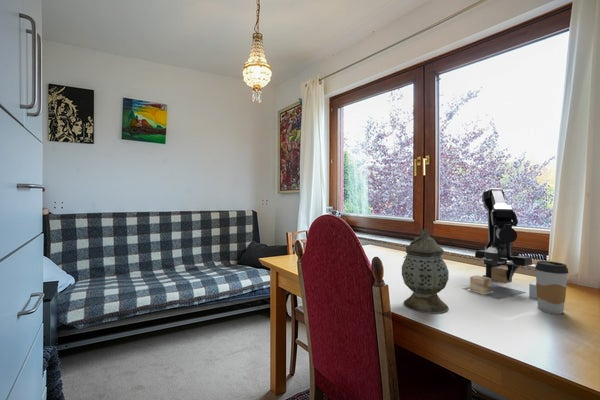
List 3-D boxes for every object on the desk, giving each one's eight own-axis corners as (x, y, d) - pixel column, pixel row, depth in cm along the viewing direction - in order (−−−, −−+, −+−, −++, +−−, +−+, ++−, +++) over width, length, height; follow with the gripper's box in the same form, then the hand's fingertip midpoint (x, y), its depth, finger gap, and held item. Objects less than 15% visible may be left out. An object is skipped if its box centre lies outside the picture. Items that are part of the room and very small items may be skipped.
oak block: (477, 288, 121) (478, 275, 121) (491, 291, 117) (491, 278, 116) (470, 289, 119) (470, 276, 119) (483, 293, 114) (483, 279, 114)
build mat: (488, 283, 129) (488, 282, 129) (526, 293, 116) (526, 292, 116) (461, 289, 120) (461, 288, 120) (498, 300, 108) (499, 299, 108)
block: (532, 295, 114) (532, 281, 114) (549, 298, 111) (549, 284, 111) (529, 298, 111) (529, 284, 111) (546, 301, 107) (547, 287, 107)
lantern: (427, 317, 92) (428, 232, 92) (392, 302, 105) (393, 228, 104) (458, 309, 98) (459, 231, 98) (421, 296, 111) (422, 226, 111)
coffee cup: (560, 307, 101) (561, 261, 101) (573, 317, 93) (574, 267, 93) (530, 304, 104) (530, 259, 104) (540, 313, 96) (541, 264, 96)
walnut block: (498, 278, 126) (498, 266, 126) (511, 281, 121) (512, 269, 121) (491, 280, 123) (491, 267, 123) (504, 283, 119) (504, 270, 119)
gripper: (466, 237, 126) (466, 276, 127) (516, 244, 110) (516, 288, 110) (483, 236, 132) (482, 273, 132) (533, 242, 115) (532, 284, 115)
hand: (501, 279), depth 122 cm, fingers closed on walnut block, 5 cm apart
